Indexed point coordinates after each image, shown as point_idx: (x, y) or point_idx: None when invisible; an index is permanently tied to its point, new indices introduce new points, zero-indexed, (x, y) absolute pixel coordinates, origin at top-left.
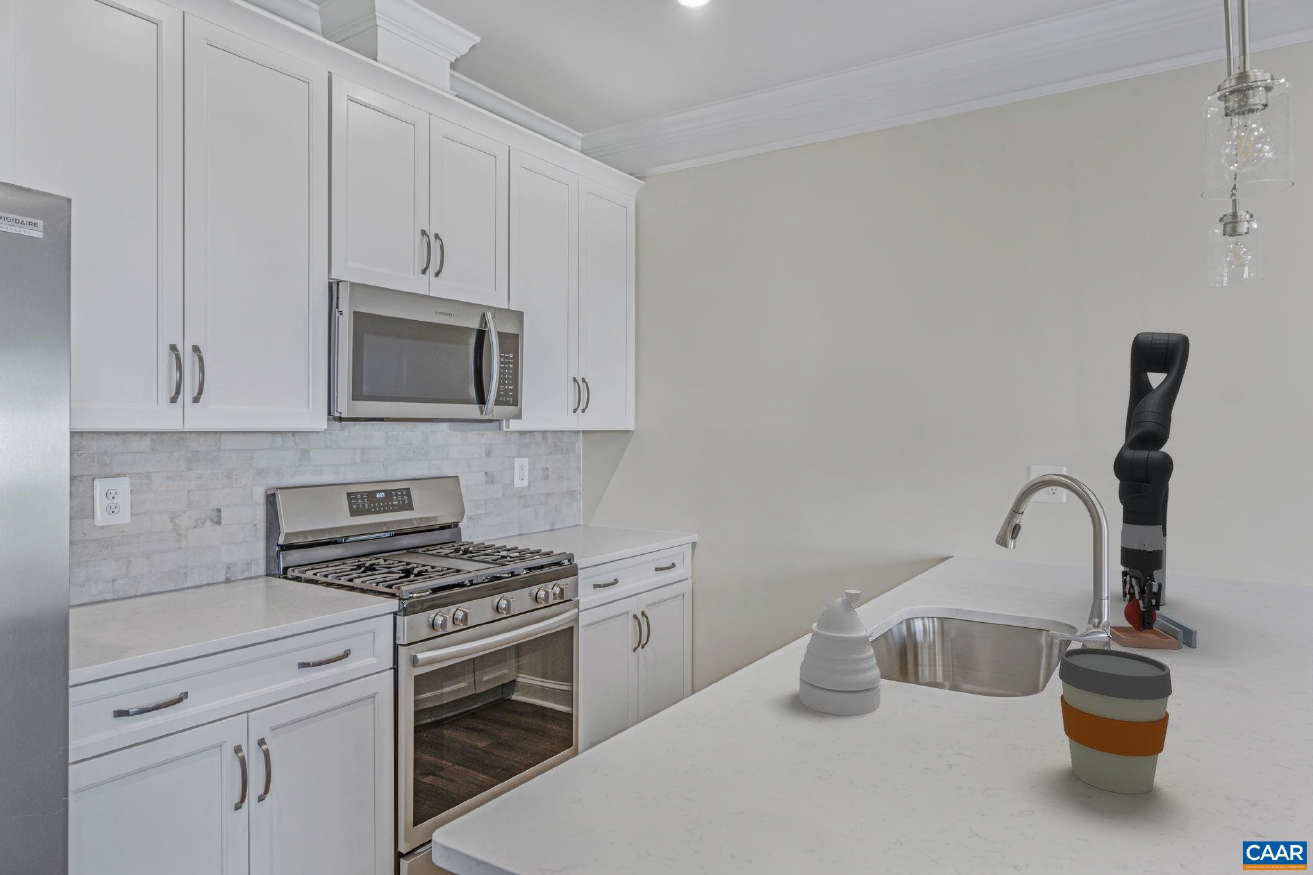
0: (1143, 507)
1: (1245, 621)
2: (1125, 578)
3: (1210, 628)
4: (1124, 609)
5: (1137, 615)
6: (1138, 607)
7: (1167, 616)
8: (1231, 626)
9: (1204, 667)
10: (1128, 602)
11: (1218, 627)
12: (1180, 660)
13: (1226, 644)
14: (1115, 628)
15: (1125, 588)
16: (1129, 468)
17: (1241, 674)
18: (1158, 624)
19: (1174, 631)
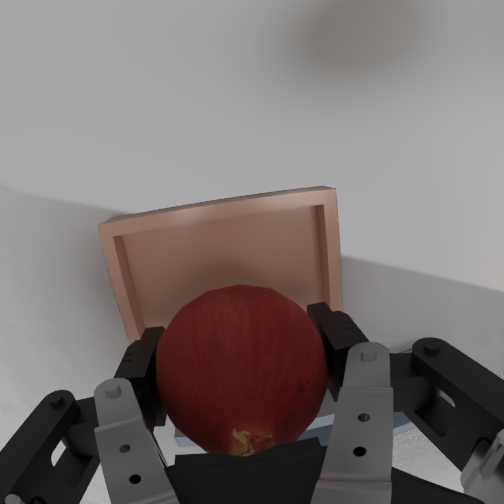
0: None
1: (457, 478)
2: (495, 442)
3: (422, 456)
4: (273, 303)
5: (158, 346)
6: (165, 382)
7: (405, 427)
8: (432, 474)
9: (10, 381)
10: (349, 353)
11: (428, 463)
12: (33, 353)
13: None
14: (323, 235)
15: (451, 388)
16: None
17: (11, 423)
18: None
19: None
